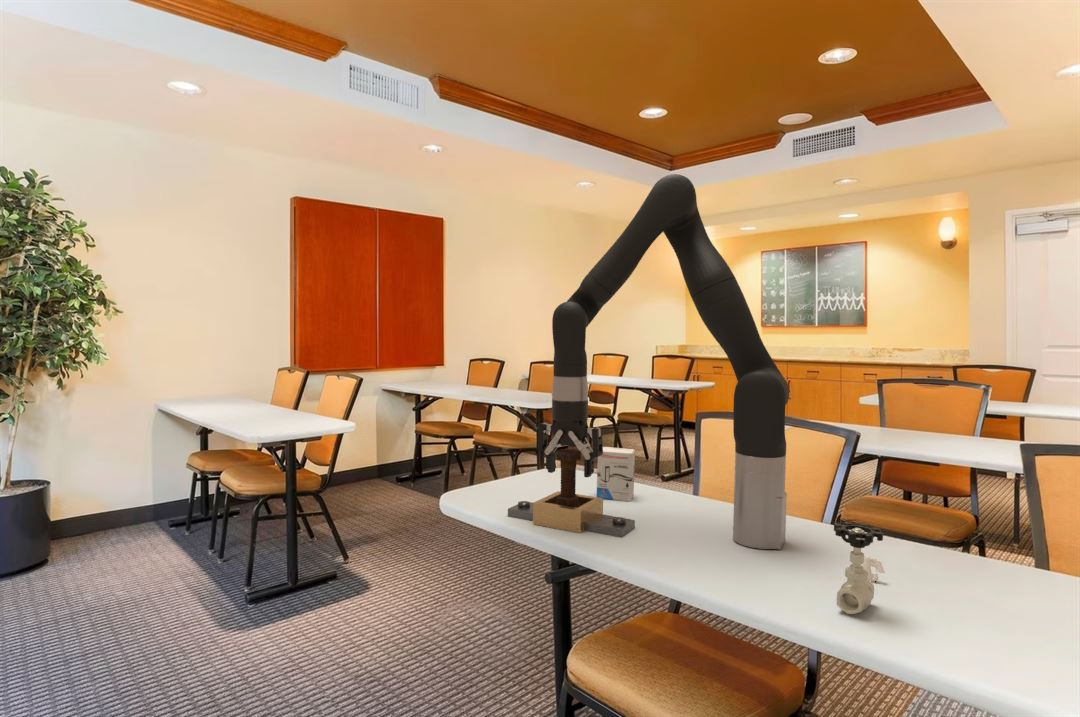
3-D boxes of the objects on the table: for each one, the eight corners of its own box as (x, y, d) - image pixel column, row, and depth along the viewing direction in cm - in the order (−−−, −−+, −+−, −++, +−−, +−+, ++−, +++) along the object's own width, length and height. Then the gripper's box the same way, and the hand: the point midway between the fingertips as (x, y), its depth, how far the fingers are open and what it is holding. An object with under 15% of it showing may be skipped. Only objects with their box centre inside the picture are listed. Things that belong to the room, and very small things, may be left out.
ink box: (595, 498, 151) (596, 450, 150) (599, 493, 155) (600, 446, 155) (631, 501, 148) (632, 452, 147) (634, 496, 153) (635, 448, 152)
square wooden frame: (602, 518, 134) (603, 498, 134) (580, 533, 125) (580, 510, 124) (557, 511, 140) (557, 491, 139) (532, 524, 130) (533, 502, 130)
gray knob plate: (634, 527, 129) (634, 516, 128) (621, 537, 122) (621, 525, 122) (594, 520, 133) (595, 509, 133) (580, 529, 127) (580, 517, 127)
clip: (885, 583, 102) (885, 560, 101) (880, 586, 100) (881, 563, 100) (853, 573, 105) (854, 551, 105) (848, 576, 104) (849, 554, 104)
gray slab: (555, 513, 138) (555, 502, 138) (539, 522, 132) (539, 510, 131) (524, 508, 142) (524, 497, 141) (507, 516, 136) (507, 505, 135)
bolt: (580, 525, 129) (581, 453, 129) (555, 525, 129) (556, 453, 129) (578, 517, 135) (580, 448, 134) (555, 516, 135) (556, 448, 135)
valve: (885, 608, 92) (888, 528, 92) (873, 623, 87) (876, 539, 87) (838, 595, 97) (840, 518, 96) (824, 609, 92) (826, 528, 91)
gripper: (608, 398, 131) (607, 474, 131) (548, 394, 138) (548, 467, 138) (593, 401, 124) (592, 482, 125) (531, 397, 131) (531, 473, 132)
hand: (569, 474), depth 132 cm, fingers open, 8 cm apart
